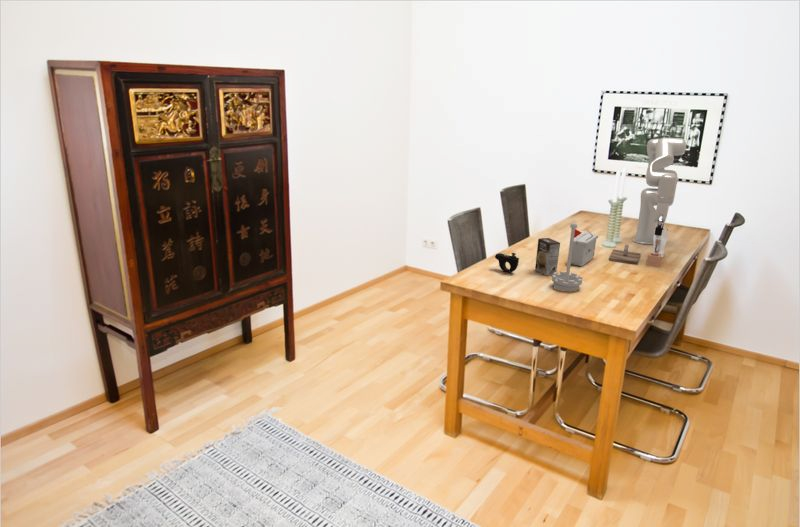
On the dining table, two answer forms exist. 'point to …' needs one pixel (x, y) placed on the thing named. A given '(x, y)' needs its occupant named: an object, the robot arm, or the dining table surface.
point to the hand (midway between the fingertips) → (658, 233)
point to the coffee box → (547, 256)
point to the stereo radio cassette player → (583, 248)
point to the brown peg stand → (625, 256)
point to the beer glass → (660, 242)
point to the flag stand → (568, 269)
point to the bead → (653, 259)
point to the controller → (507, 258)
